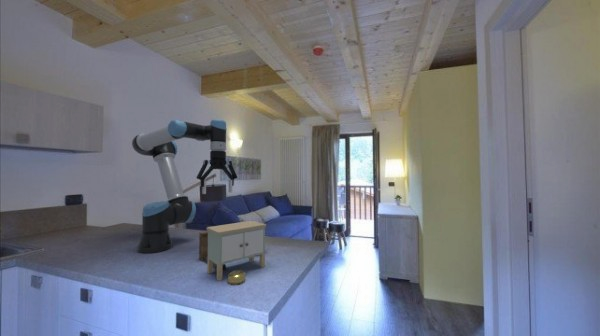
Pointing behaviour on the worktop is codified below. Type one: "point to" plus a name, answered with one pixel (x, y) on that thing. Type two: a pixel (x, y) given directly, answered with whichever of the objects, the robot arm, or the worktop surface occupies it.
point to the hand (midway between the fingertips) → (217, 193)
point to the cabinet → (235, 244)
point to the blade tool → (205, 249)
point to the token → (236, 277)
